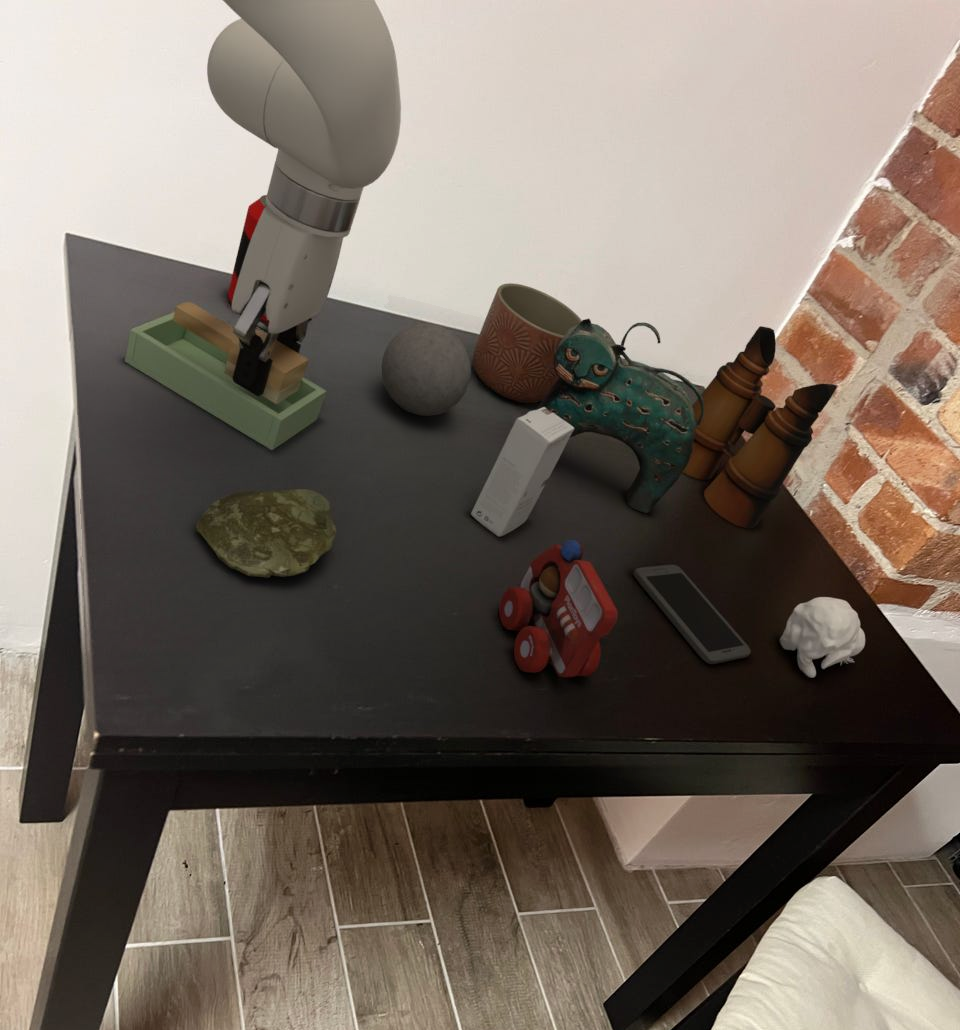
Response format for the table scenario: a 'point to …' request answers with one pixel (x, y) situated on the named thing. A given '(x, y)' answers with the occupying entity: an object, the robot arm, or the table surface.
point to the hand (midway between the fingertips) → (262, 378)
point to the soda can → (247, 242)
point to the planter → (521, 342)
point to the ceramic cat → (625, 406)
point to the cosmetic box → (521, 470)
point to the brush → (285, 360)
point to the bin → (218, 383)
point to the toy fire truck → (559, 613)
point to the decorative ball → (426, 369)
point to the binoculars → (774, 437)
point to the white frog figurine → (823, 633)
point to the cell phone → (692, 614)
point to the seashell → (269, 531)
